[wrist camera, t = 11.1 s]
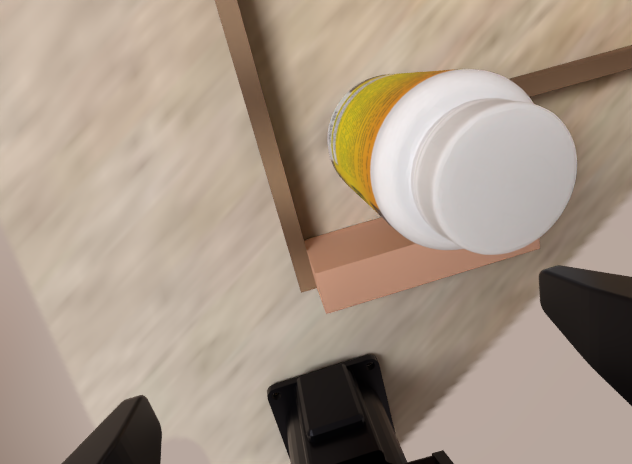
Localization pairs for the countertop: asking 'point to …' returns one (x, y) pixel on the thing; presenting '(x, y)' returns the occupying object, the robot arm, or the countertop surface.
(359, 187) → the supplement bottle
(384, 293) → the stop block
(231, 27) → the walnut track
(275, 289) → the countertop surface
